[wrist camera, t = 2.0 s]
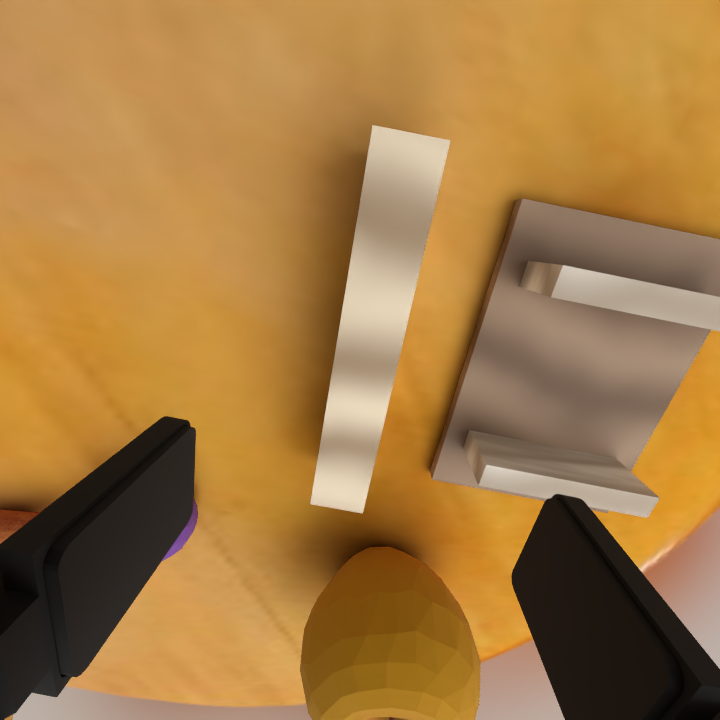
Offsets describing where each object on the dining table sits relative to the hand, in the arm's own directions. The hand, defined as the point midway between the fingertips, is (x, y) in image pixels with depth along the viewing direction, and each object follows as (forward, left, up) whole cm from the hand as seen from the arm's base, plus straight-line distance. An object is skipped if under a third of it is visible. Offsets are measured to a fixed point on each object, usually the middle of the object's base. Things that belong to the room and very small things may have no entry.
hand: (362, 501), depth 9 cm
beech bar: (0, 0, -16) cm, 16 cm away
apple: (+22, +6, -16) cm, 27 cm away
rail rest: (0, +14, -15) cm, 21 cm away
